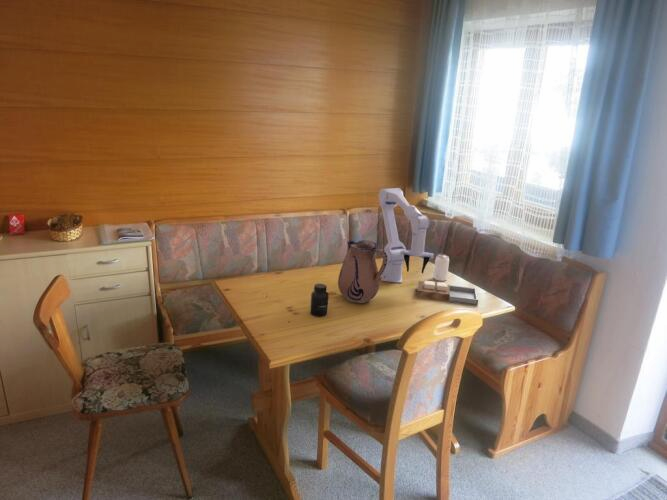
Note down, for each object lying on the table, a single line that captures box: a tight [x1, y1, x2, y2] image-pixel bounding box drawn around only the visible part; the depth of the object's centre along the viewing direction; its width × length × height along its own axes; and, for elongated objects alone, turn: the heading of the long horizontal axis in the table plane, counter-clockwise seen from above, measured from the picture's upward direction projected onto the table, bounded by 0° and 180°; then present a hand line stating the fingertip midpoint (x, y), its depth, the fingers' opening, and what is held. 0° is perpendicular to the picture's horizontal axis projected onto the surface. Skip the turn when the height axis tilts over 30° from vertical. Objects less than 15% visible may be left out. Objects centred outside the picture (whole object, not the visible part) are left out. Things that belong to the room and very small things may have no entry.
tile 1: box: [424, 280, 436, 289], centre depth 218 cm, size 4×4×2 cm
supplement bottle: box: [309, 283, 329, 318], centre depth 191 cm, size 7×7×12 cm
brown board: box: [416, 280, 451, 302], centre depth 218 cm, size 14×12×3 cm
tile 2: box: [436, 281, 448, 291], centre depth 217 cm, size 4×4×2 cm
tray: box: [448, 284, 479, 306], centre depth 216 cm, size 12×14×2 cm
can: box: [433, 253, 450, 282], centre depth 236 cm, size 6×6×12 cm
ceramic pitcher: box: [337, 239, 388, 304], centre depth 204 cm, size 18×21×25 cm
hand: (415, 271), depth 218 cm, fingers open, 6 cm apart
